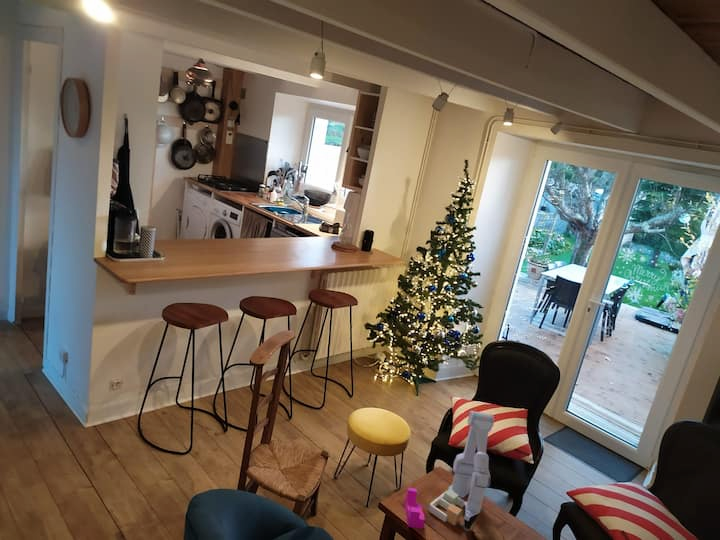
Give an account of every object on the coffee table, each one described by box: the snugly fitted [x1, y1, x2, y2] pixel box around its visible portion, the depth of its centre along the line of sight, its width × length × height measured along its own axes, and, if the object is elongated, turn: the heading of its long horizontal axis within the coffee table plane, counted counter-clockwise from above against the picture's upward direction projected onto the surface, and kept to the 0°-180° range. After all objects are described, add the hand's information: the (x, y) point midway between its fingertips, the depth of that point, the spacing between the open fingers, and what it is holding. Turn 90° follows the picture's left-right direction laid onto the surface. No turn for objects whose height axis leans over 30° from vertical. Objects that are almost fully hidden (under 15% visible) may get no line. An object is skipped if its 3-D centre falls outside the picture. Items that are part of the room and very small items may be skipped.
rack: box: [427, 490, 465, 523], centre depth 231 cm, size 16×9×3 cm, turn 140°
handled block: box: [445, 504, 472, 532], centre depth 223 cm, size 4×11×6 cm, turn 54°
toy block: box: [404, 487, 426, 530], centre depth 223 cm, size 15×6×8 cm, turn 0°
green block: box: [443, 488, 460, 506], centre depth 234 cm, size 4×5×6 cm
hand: (468, 525), depth 221 cm, fingers closed on handled block, 3 cm apart
